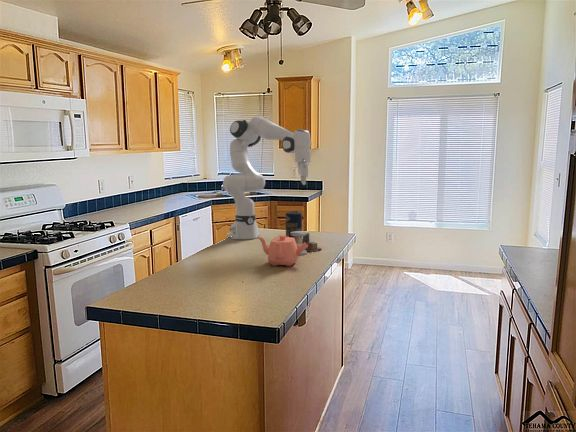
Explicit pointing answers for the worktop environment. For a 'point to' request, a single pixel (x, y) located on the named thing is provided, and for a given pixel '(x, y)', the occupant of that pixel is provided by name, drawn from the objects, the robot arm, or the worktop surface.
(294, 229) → the canister
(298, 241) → the bobbin
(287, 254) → the teapot
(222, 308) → the worktop surface
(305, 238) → the cylinder
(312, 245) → the board
